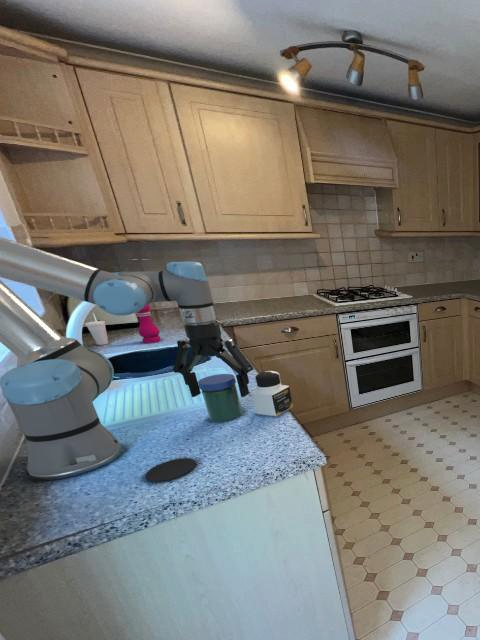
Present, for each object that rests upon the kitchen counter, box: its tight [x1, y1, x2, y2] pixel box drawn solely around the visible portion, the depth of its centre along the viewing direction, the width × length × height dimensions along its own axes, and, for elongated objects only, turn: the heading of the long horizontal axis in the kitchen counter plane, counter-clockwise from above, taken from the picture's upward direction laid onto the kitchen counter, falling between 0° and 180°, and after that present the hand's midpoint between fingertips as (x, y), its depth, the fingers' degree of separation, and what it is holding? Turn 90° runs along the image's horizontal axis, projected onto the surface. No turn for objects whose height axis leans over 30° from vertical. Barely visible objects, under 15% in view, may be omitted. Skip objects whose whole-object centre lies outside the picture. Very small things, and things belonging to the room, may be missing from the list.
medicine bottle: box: [250, 370, 294, 417], centre depth 119 cm, size 7×7×12 cm
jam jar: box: [201, 383, 244, 423], centre depth 116 cm, size 8×8×10 cm
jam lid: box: [197, 373, 237, 391], centre depth 114 cm, size 9×8×2 cm
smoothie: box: [84, 312, 109, 346], centre depth 178 cm, size 6×6×14 cm
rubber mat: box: [144, 457, 197, 484], centre depth 92 cm, size 9×9×1 cm
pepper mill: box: [135, 303, 162, 344], centre depth 182 cm, size 7×7×20 cm
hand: (221, 395), depth 115 cm, fingers open, 13 cm apart
